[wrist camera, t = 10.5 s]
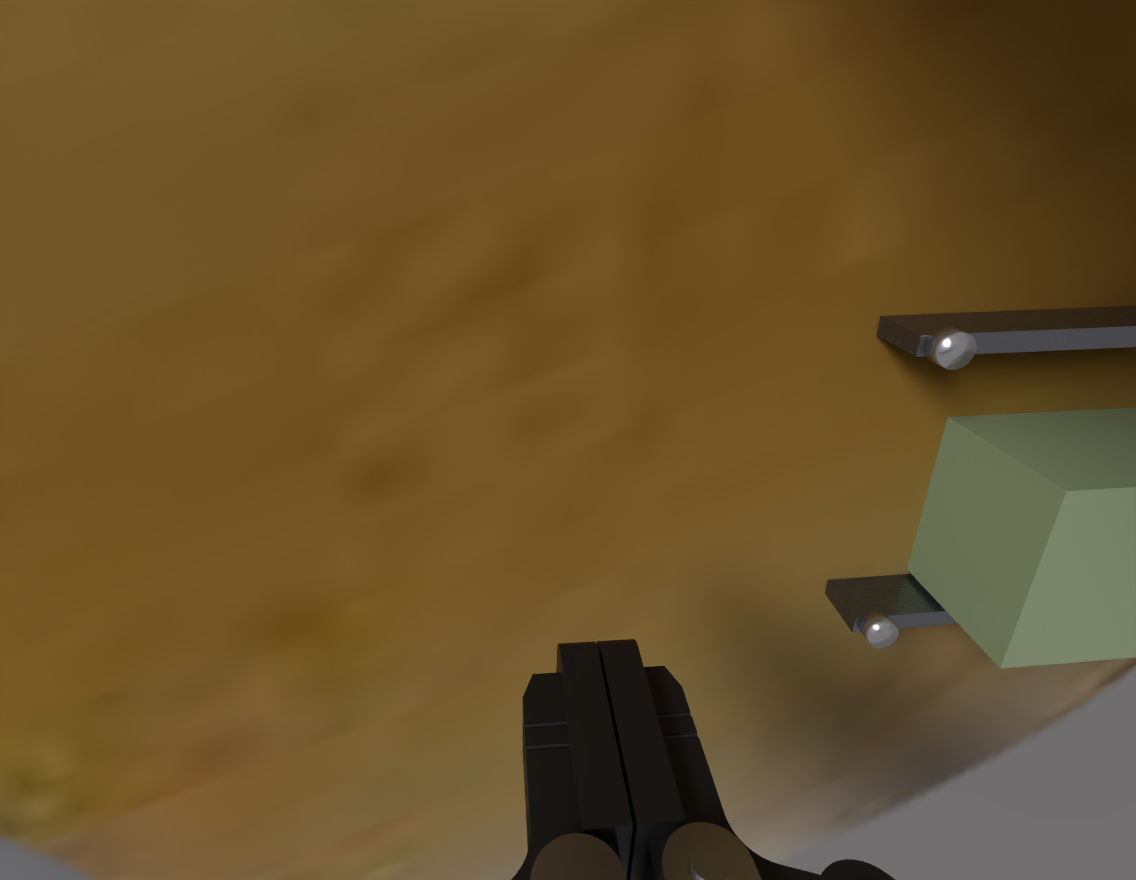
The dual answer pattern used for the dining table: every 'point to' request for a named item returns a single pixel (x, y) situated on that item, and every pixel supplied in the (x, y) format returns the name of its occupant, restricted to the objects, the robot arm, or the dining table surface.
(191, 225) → the dining table surface
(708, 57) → the dining table surface
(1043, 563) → the pale green block
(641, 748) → the robot arm
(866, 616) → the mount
